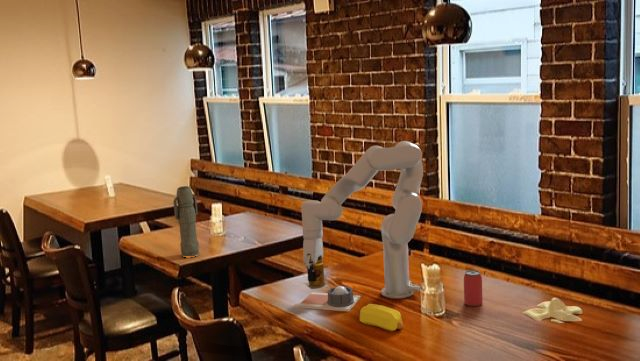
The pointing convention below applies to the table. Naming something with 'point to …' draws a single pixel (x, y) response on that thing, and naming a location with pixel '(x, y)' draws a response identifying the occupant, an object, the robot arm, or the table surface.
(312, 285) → the condiment
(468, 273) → the beer can
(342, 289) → the dome
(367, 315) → the faceted yellow knobbed lump
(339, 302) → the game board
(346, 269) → the table surface
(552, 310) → the cloth
